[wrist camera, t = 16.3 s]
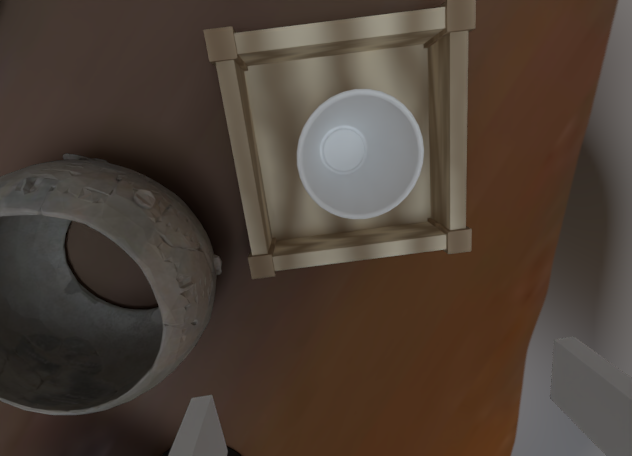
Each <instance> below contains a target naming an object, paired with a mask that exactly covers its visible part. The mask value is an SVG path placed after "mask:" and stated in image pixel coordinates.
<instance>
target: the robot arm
mask: <svg viewBox="0 0 632 456" xmlns="http://www.w3.org/2000/svg"><path fill="white" fill-rule="evenodd" d="M550 399H551V400H552V401H553V402H554V403H555V404H556V405H557V406H558V407H559V408H560V409H561V410H562V411H563V412H564V413H565V414H566V415H567V416H568V417H569V418H570V419H571V420H572V421H573V422H574V423H575V424H576V425H577V426H578V427H579V428H580V429H581V430H582V431H583V432H584V433H585V434H586V435H587V436H588V437H589V438H590V439H591V441H592V442H593V443H594V444H596V446H597V447H598V448H600V450H601V451H602V452H603V453H604V454H605V455H606V456H632V378H631V377H630V376H628V375H627V374H626V373H624V372H623V371H621V370H620V369H619V368H617V367H616V366H614V365H613V364H611V363H610V362H609V361H607V360H606V359H605V358H603V357H602V356H600V355H599V354H597V353H596V352H595V351H593V350H592V349H590V348H589V347H588V346H586V345H585V344H583V343H582V342H581V341H579V340H578V339H576V338H575V337H568V338H562V339H556V340H554V349H553V364H552V379H551V394H550ZM162 456H240V455H239V454H238V453H237V452H235V451H234V450H232V449H230V448H228V447H227V446H226V443H225V439H224V436H223V432H222V429H221V425H220V421H219V418H218V414H217V411H216V407H215V404H214V400H213V396H212V395H208V396H202V397H196V398H192V399H191V401H190V404H189V406H188V408H187V411H186V413H185V416H184V418H183V421H182V423H181V426H180V428H179V431H178V433H177V435H176V438H175V440H174V443H173V445H172V448H171V449H170V450H168V451H167V452H165V453H164V454H163V455H162Z"/></svg>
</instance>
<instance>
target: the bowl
mask: <svg viewBox="0 0 632 456" xmlns="http://www.w3.org/2000/svg"><path fill="white" fill-rule="evenodd" d="M63 159H64V160H57V161H52V162H45V163H40V164H35V165H32V166H29V167H26V168H23V169H20V170H17V171H14V172H12V173H9V174H6V175H4V176H1V177H0V401H2V402H5V403H7V404H10V405H12V406H15V407H18V408H20V409H23V410H26V411H32V412H38V413H43V414H49V415H80V414H88V413H94V412H99V411H104V410H107V409H110V408H112V407H115V406H118V405H121V404H123V403H126V402H129V401H131V400H133V399H134V398H136V397H138V396H139V395H141V394H143V393H145V392H146V391H148V390H150V389H151V388H153V387H154V386H156V385H157V384H159V383H160V382H161V381H162V380H163V379H165V378H166V377H167V376H168V375H169V374H170V373H172V372H173V371H174V370H175V369H176V368H177V367H178V365H179V364H180V363H181V362H182V361H183V360H184V359H185V358H186V357H187V356H188V354H189V353H190V352H191V351H192V349H193V348H194V346H196V345H197V342H198V340H199V339H200V337H201V335H202V333H203V331H204V330H205V329H206V327H207V325H208V323H209V320H210V318H211V313H212V308H213V303H214V298H215V290H216V275H219V274H220V273H221V272H222V270H221V266H222V260H221V258H220V256H217V255H214V251H213V248H212V245H211V242H210V239H209V237H208V235H207V233H206V231H205V230H204V228H203V226H202V224H201V223H200V221H199V220H198V219H197V217H196V216H195V214H194V213H193V212H192V211H191V210H190V208H189V207H188V206H187V205H186V204H185V203H184V201H183V200H182V199H180V198H179V197H178V196H177V195H176V194H175V193H173V192H171V191H170V190H168V189H167V188H165V187H164V186H162V185H161V184H159V183H158V182H156V181H154V180H152V179H151V178H149V177H147V176H145V175H143V174H141V173H138V172H136V171H133V170H131V169H129V168H125V167H122V166H118V165H114V164H110V163H108V161H106V160H102V159H97V158H95V159H91V158H88V157H84V156H80V155H74V154H68V153H67V154H63ZM71 221H76V222H80V223H84V224H87V226H89V227H91V228H93V229H95V230H97V231H99V232H100V233H102V234H103V235H105V236H106V237H108V238H109V239H111V240H112V241H114V242H115V243H116V244H117V245H118V246H119V247H121V248H122V249H123V250H124V251H125V252H126V253H127V254H128V255H129V256H130V257H131V258H132V259H133V260H134V261H135V262H136V263H137V264H138V265H139V267H140V268H141V269H142V271H143V273H144V274H145V276H146V278H147V280H148V282H149V284H150V286H151V288H152V290H153V293H154V295H155V298H156V300H157V303H158V307H157V308H153V309H148V310H135V309H128V308H122V307H119V306H115V305H112V304H110V303H108V302H105V301H103V300H101V299H99V298H97V297H96V296H94V295H93V294H92V293H90V292H89V291H88V290H86V289H85V288H84V287H83V286H82V285H81V284H80V283H79V282H78V280H77V279H76V277H75V276H74V275H73V273H72V271H71V269H70V268H69V266H68V264H67V261H66V254H65V248H64V244H65V235H66V232H67V229H68V226H69V224H70V222H71Z"/></svg>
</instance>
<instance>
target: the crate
mask: <svg viewBox="0 0 632 456" xmlns="http://www.w3.org/2000/svg"><path fill="white" fill-rule="evenodd" d="M475 15H476V0H446V1H445V2H444V3H443V4H442V5H441V6H440V7H439V8H431V9H423V10H415V11H407V12H399V13H391V14H383V15H375V16H367V17H359V18H351V19H343V20H335V21H327V22H319V23H311V24H303V25H295V26H287V27H279V28H271V29H263V30H255V31H247V32H239V33H236V32H235V30H234V29H233V27H232V26H230V27H222V28H214V29H206V30H203V31H204V36H205V41H206V47H207V52H208V57H209V62H210V63H212V64H213V65H214V66H216V68H217V73H218V79H219V84H220V89H221V94H222V100H223V105H224V110H225V115H226V121H227V126H228V131H229V136H230V142H231V147H232V152H233V157H234V163H235V168H236V173H237V178H238V184H239V189H240V194H241V199H242V205H243V210H244V215H245V220H246V226H247V231H248V236H249V241H250V247H251V251H250V254H249V256H248V262H249V267H250V272H251V277H252V279H258V278H266V277H274V276H275V274H276V271H280V270H288V269H296V268H304V267H311V266H319V265H327V264H335V263H343V262H350V261H358V260H366V259H374V258H382V257H389V256H397V255H405V254H413V253H421V252H428V251H436V250H444V251H445V252H446V253H447V254H453V253H461V252H469V251H471V232H472V229H470V228H469V227H467V226H466V169H467V91H468V33H469V32H470V31H472V30H473V29H475ZM353 89H372V90H377V91H382V92H384V93H386V94H388V95H391V96H393V97H394V98H396V99H397V100H399V101H400V102H401V103H403V104H404V105H405V106H406V107H407V109H408V110H409V111H410V112H411V113H412V114H413V116H414V118H415V120H416V121H417V123H418V125H419V128H420V131H421V134H422V137H423V146H424V157H423V165H422V168H421V172H420V176H419V178H418V180H417V182H416V184H415V186H414V188H413V189H412V190H411V192H410V193H409V195H408V196H407V197H406V198H405V199H404V200H403V201H402V202H401V203H400V204H399V205H398V206H396V207H395V208H393V209H391V210H390V211H388V212H386V213H384V214H382V215H379V216H377V217H373V218H368V219H348V218H342V217H339V216H336V215H334V214H331V213H329V212H328V211H326V210H325V209H323V208H321V207H320V206H319V205H318V204H317V203H316V202H315V201H314V200H313V199H312V198H311V197H310V195H309V194H308V193H307V191H306V190H305V188H304V186H303V184H302V181H301V179H300V176H299V172H298V167H297V147H298V141H299V137H300V135H301V132H302V129H303V127H304V125H305V123H306V122H307V120H308V118H309V117H310V115H311V114H312V113H313V112H314V111H315V110H316V109H317V108H318V106H319V105H321V104H322V103H324V102H325V101H326V100H328V99H329V98H330V97H333V96H335V95H337V94H339V93H341V92H345V91H349V90H353Z"/></svg>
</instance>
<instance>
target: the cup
mask: <svg viewBox="0 0 632 456" xmlns="http://www.w3.org/2000/svg"><path fill="white" fill-rule="evenodd" d="M423 157H424V146H423V137H422V134H421V131H420V128H419V125H418V123H417V121H416V120H415V118H414V116H413V114H412V113H411V112H410V111H409V110H408V109H407V107H406V106H405V105H404V104H403V103H401V102H400V101H399V100H397V99H396V98H394V97H393V96H391V95H388V94H386V93H384V92H382V91H377V90H372V89H353V90H349V91H345V92H341V93H339V94H337V95H335V96H333V97H330V98H329V99H328V100H326V101H325V102H324V103H322V104H321V105H319V106H318V108H317V109H316V110H315V111H314V112H313V113H312V114H311V115H310V117H309V118H308V120H307V122H306V123H305V125H304V127H303V129H302V132H301V135H300V137H299V141H298V147H297V167H298V172H299V176H300V179H301V181H302V184H303V186H304V188H305V190H306V191H307V193H308V194H309V195H310V197H311V198H312V199H313V200H314V201H315V202H316V203H317V204H318V205H319V206H320V207H321V208H323V209H325V210H326V211H328V212H329V213H331V214H334V215H336V216H339V217H342V218H348V219H368V218H373V217H377V216H379V215H382V214H384V213H386V212H388V211H390V210H391V209H393V208H395V207H396V206H398V205H399V204H400V203H401V202H402V201H403V200H404V199H405V198H406V197H407V196H408V195H409V193H410V192H411V190H412V189H413V188H414V186H415V184H416V182H417V180H418V178H419V176H420V172H421V168H422V165H423Z"/></svg>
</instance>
